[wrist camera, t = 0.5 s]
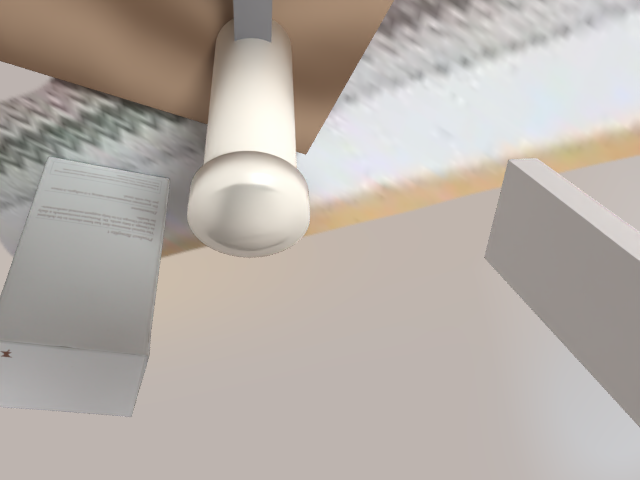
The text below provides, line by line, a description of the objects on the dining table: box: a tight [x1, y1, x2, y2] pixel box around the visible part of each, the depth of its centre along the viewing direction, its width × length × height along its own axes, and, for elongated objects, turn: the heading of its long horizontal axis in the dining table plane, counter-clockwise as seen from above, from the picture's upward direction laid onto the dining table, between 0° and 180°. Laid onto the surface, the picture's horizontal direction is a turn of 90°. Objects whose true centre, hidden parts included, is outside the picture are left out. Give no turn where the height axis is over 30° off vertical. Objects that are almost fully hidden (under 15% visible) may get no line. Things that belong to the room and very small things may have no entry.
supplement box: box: [0, 157, 169, 417], centre depth 35 cm, size 7×7×13 cm
